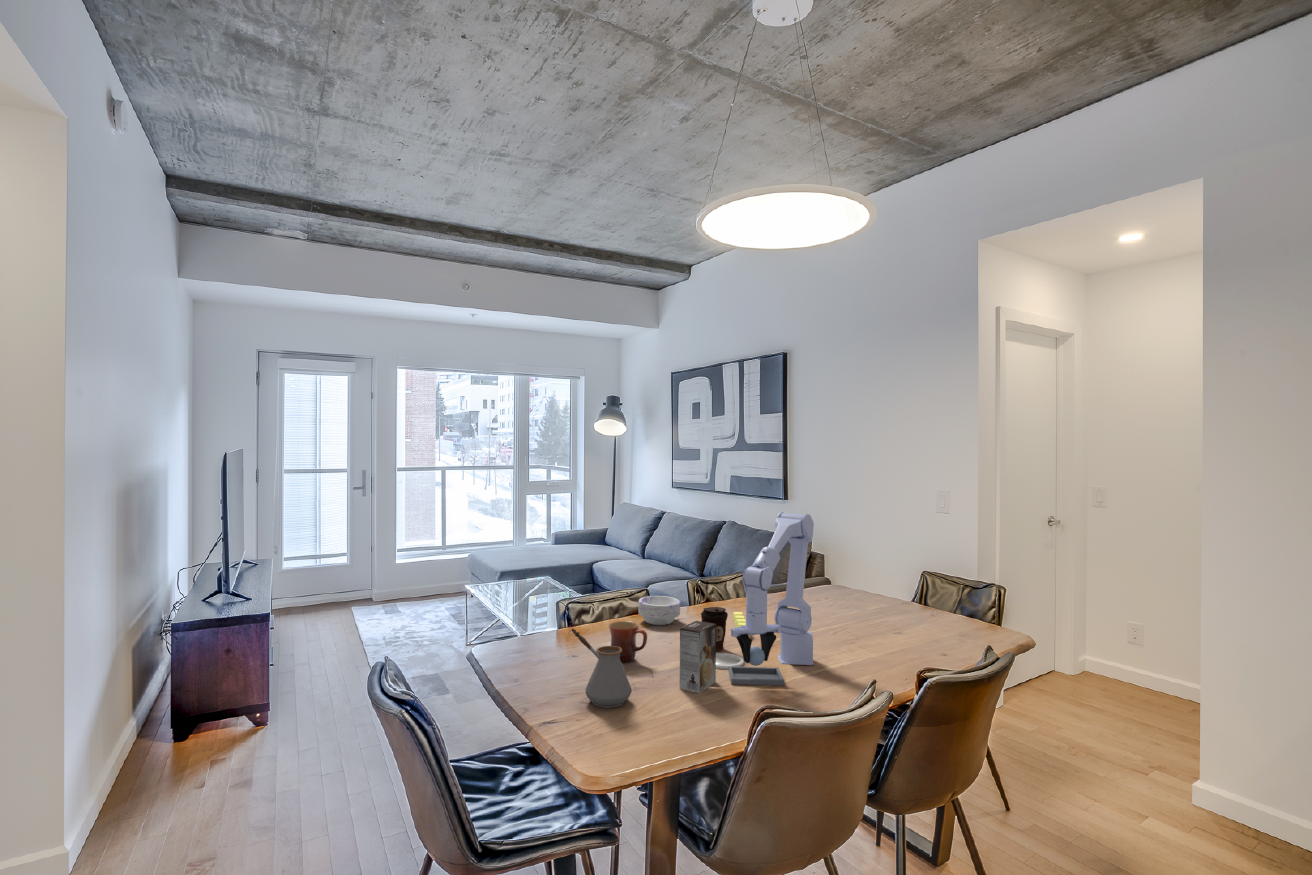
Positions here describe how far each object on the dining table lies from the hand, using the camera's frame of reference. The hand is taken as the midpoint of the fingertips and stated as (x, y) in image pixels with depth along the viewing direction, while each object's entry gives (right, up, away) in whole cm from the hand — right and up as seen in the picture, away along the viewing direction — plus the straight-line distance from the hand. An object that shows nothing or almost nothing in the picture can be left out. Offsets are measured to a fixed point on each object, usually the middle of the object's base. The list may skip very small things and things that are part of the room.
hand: (755, 660), depth 178 cm
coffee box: (-16, -5, -6) cm, 18 cm away
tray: (0, -5, 0) cm, 5 cm away
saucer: (-8, -5, +13) cm, 16 cm away
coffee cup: (-9, -6, +25) cm, 27 cm away
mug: (-36, -5, +14) cm, 39 cm away
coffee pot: (-43, -4, -14) cm, 45 cm away
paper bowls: (-26, -6, +58) cm, 64 cm away
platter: (+5, -7, +52) cm, 52 cm away
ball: (0, -1, 0) cm, 1 cm away
